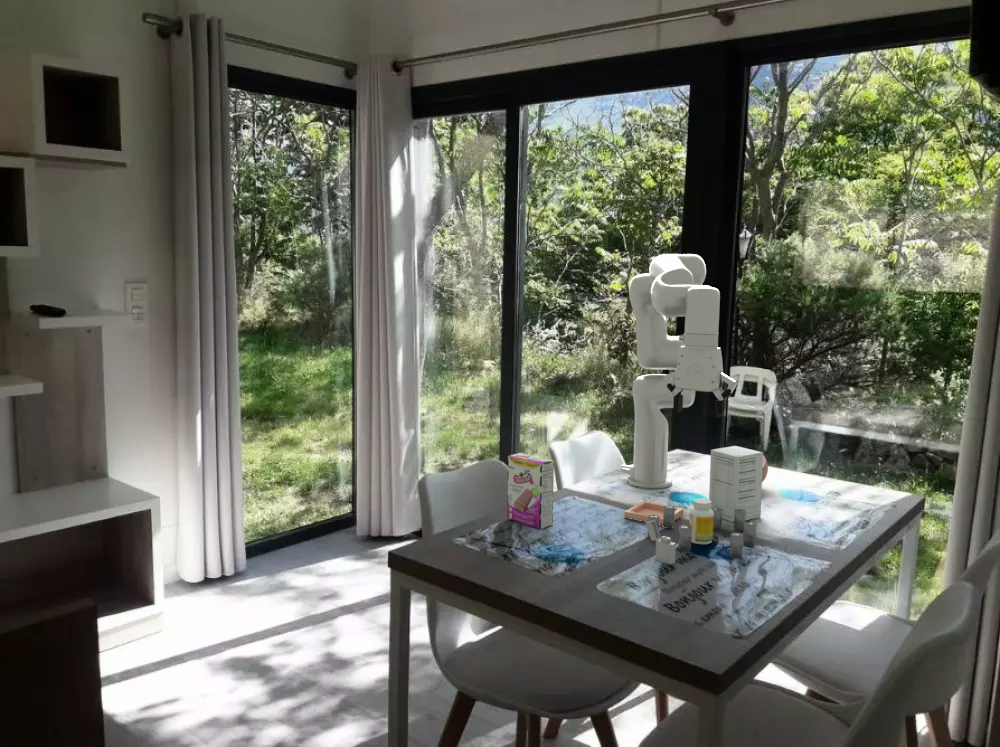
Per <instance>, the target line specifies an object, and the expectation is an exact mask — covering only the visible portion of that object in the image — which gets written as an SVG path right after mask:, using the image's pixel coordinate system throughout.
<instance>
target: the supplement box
mask: <svg viewBox="0 0 1000 747" xmlns="http://www.w3.org/2000/svg"><path fill="white" fill-rule="evenodd" d="M763 455H764V452H763V451H759V450H755V451H754V449H749V448H746V447H742V446H737V445H731V446H726V447H720V448H719V447H718V448H715V449H714V448H713V449H710V463H709V464H710V465H709V468H710V469H709V495H708V497H709V498H708V500H710V501H711V508H721V509H722V520H726V521H729V522H732V523H734V511H735V510H736V509H742V510H745V511H746V519H745V522H747V521H750V519H751V520H754V519H759V518H761V514H762V513H761V512H762V510H761V509H762V490H763V489H762V486H763V485H762V484H763V482H762V467H763ZM711 508H710V509H711Z"/></svg>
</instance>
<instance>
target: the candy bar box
mask: <svg viewBox="0 0 1000 747" xmlns="http://www.w3.org/2000/svg"><path fill="white" fill-rule="evenodd" d="M554 463H555V461H554V460H552V459H547V458H544V457H539V456H536V455H532V454H527V453H523V452H518V453H513V454H510V455H508V456H507V514H506V516H507V520H509V521H512V522H516V523H519V524H522V525H526V526H529V527H532V528H535V529H538V530H543V529H546V528H549V527H552V526H554V524H553V522H554V521H553V520H554V475H555V471H554V469H555V468H554V466H555V464H554Z"/></svg>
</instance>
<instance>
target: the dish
mask: <svg viewBox="0 0 1000 747" xmlns="http://www.w3.org/2000/svg"><path fill="white" fill-rule="evenodd" d="M666 505H667V504H662V503H655V502H650V501H646V500H642V501H641V502H639V503H638V504H635V505H634V506H632V507H630V508H629V509H627V510H625V511H624V518H625V517H626V518H632V519H637V520H641V521H646V522H648V515H658V516H659V524H660V525H663V514H664V506H666ZM674 507H675V514H674V522H675V520H676V519H677V520H678V518H679V517H680V518H682V517H683V516H684V509H685V508H682V507H678V506H677V507H676V506H674ZM682 515H683V516H682ZM681 516H682V517H681ZM680 518H679V519H680ZM677 520H676V521H677Z"/></svg>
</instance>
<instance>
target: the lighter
mask: <svg viewBox="0 0 1000 747" xmlns="http://www.w3.org/2000/svg"><path fill="white" fill-rule="evenodd" d="M645 525H646V528H647V531H648V532H649V536H650V538H649V539H650V540H651V542H653V541H655V560H656V561H658V562H659V561H660V562H661V563H662V562H663V563H665V564H668V565H673V564H675V563H676V548H677V547H676V542H672V538H671V537H669V536H665V535H663V536H661V535H660V530H659V531H658V528H657V525H656V522H655V520H652V521H649V522H646V523H645Z"/></svg>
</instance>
